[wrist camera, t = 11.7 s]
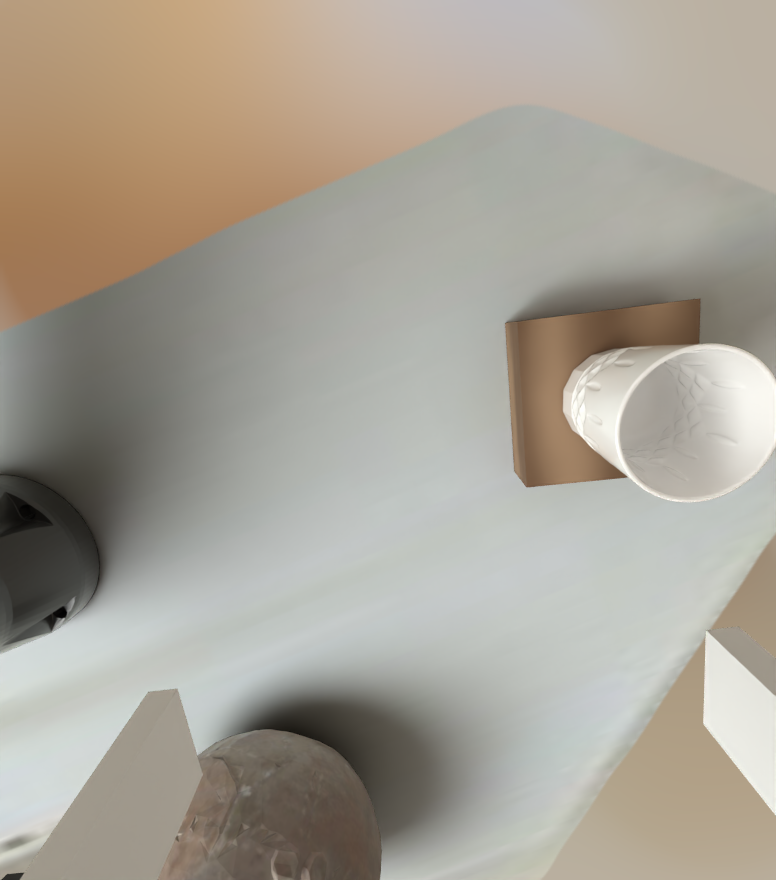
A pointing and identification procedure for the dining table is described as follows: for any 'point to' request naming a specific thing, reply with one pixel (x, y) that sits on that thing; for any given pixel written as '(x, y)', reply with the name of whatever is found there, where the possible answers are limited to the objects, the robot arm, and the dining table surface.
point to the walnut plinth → (549, 368)
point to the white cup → (676, 416)
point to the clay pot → (276, 814)
